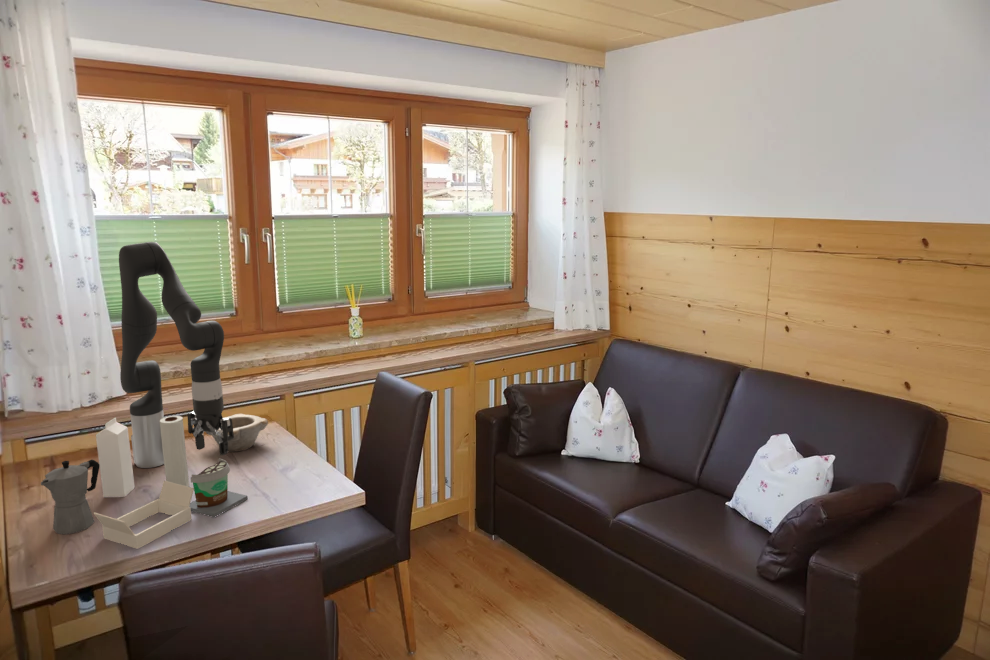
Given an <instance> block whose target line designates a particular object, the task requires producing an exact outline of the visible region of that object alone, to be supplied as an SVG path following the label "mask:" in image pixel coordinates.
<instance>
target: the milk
mask: <svg viewBox="0 0 990 660" xmlns="http://www.w3.org/2000/svg"><path fill="white" fill-rule="evenodd" d="M104 426H105V428H104V429H102V430H101V431H99V432H98V433H96V434H95V440H96V449H97V456H98V457H97V458H98V463H99V471H100V473H99V474H100V479H101V488H102V497H103V498H125V497H127V496H128V495H129V494H131V492H132V491H133V490H134V489H135V478H134V471H133V463H132V462H133V461H132V453H131V444H130V438H129V437H130V436H129V428H128V426H126V425H124V424H122V423H120V422H118V421H117V417H114V418H112V419H110V420H108V421H107V422H106V423H105V425H104Z"/></svg>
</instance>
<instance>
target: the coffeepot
mask: <svg viewBox="0 0 990 660" xmlns="http://www.w3.org/2000/svg"><path fill="white" fill-rule="evenodd" d="M61 465H62V467H58V468H55V469H52V470H51V471H50V472H47V473H46V474H44V476H45V478H44V479H43V480H42V481H41V482H40V485H41V486H44V487H45V488H46V489H47V490H49V492H50V494H51V497H52V499H53V501H54V504H55V505H54V508H53V509H54V510H53V524H52V525H53V526H52V529H53V530H54V532H55V534H59V535H72V534H75V533H80V532H82V531H85V530H86V529H89V528H90V527H92V526H93V524H94V523H95V519H94V516H93V515H94V514H93V512H92V510H91V506H90V505H89V500H88V499H87V498H86V497H87V496H86V494H88V492H92V491H93V490H95V489H96V487H97V481H98V476H99V471H100V465H99V461H96V460H95V459H90V460H88V461H84V462H82V463H79V464H73V465H72V464H71V465H70V461H69V460H63V461H62V462H61ZM90 468H92V469H91V477H90V483H91V484H90V487H88V474H89V469H90Z"/></svg>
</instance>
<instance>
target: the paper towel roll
mask: <svg viewBox="0 0 990 660" xmlns="http://www.w3.org/2000/svg"><path fill="white" fill-rule="evenodd" d="M183 419H184V418H183V416H180V415H171V416H166V417H165V416H164V418H162V419H161V420H160V429H161V439H162V448H163V458H164V464H163V467H164V475H165V481H168V482H172V483H176V484H179V485H183V486H187V487H190V480H189V470H188V460H187V459H188V458H187V450H186V448H187V447H186V438H185V429H184V421H183Z"/></svg>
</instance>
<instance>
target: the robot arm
mask: <svg viewBox="0 0 990 660" xmlns="http://www.w3.org/2000/svg"><path fill="white" fill-rule="evenodd" d="M118 267H119V276H120V277H119V278H120V286H121V340H122V341H121V343H122V345H121V346H122V348H121V351H122V352H121V362H120V374H119V375H120V385H121V388H122V390H123V391H124V392H125V393H127V394H136V393H141V392H146V394H145V395H143V396H142V397H140V398H138V399H137V400H134V401H133V402H132V403H130V405H129V413H130V414H129V415H130V422H131V431H132V434H131V435H130V440H131V446H132V455H133V464H135V465H136V466H135V467H138V468H140V469H151V468H155V467H159V466H162V465H163V466H164V458H163V448H162V439H161V429H160V420H161V419H162V418H165V415H164V407H163V390H162V373H161V368H160V366H159V363H158V362H157V361H156V360H143V361H139V362H137V361H138V359H139V358H140V356H141V354H142V353H143V351H144V350H145V349H146V348H147V347H148V345H150V343H151V342H152V341H153V339H154V337H155V336H156V334H157V330H158V329H157V328H158V311H157V310H156V307H155V306H154V305H153V303H152V302H151V301H150V300H149V299H148V298H147V297H146V295H144V293H143V292H142V291H141V289H140V287H139V279H141V278H142V277H149V276H155V275H159V276H160V278H162V290H161V302H162V303H161V304H162V306H163V308H164V309H165V311H166V313H167V314H168V315H169V316H170V318H171V319H172V320H173V322H174V324H175V327H176V329H177V332H178V336H179V339H180V343H181V345H182V346H183V347H184V348H185V349H187V350H188V351H192V352H193V351H195V352H196V351H199V350H200V351H201V350H203V352H202V354H200V355H198V356H197V357H194V358H193V359H192V360H191V361H190V374H191V397H192V398H191V399H192V409H193V411H191V412H189V413H187V431H188V433H189V434H190V435H191V434H192V435H193V437H194V440H195V448H196V450H198V451H200V450H203V449H204V448H206V447H205V446H206V444H205V435H204V433H205V431H209V432H211V433H213V435H214V436H216V437H217V439H218V440H219V445H218V448H219V455H220V456H225V455H227V454H228V453H229V451H228V441H229V440H231V439H233V438H234V433H233V425H232V419H231V418H228V419H224V417H223V414H222V413H223V411H224V410H225V409H224V408H225V407H224V396H223V394H224V393H223V384H222V380H221V372H220V370H221V369H220V368H221V367H220V362H221V355H222V351H223V346H224V342H225V332H224V329H223V327H222V325H221V323H220V322H218V321H216V320H207V321H201V322H199V321H200V319H201V318H202V311H201V309H200V308H199V306H198V305H197V304H196V303H195V301H194V299H192V297H191V296H190V295H189V294H188V292H187V291H186V289H185V288H184V285H183V284H182V282H181V279H180V278H179V276H178V274H177V272H176V270H175V268H174V266H173V264H172V262H171V260H170V258H169V256H168V255H167V253H166V251H165V250H164V248H163V247H162V246H161V245H160V244H159V243H158V242H156V241H147V242H145V241H144V242H138V243H131V244H127V245H124V246H122V247H120V249H119V252H118ZM219 428H220V429H221V430H220V431H217V430H218V429H219ZM228 432H229V436H228ZM220 434H222V435H223V438H222V436H221V435H220Z"/></svg>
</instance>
